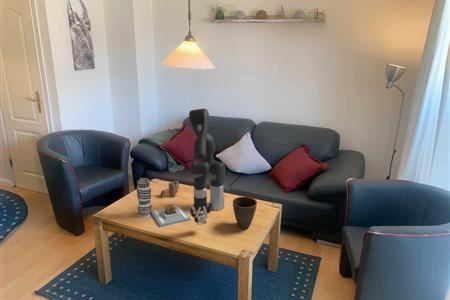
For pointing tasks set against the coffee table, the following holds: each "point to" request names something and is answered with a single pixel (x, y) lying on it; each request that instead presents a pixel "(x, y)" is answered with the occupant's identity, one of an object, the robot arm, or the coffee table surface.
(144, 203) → the grey stacked tower
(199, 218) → the block
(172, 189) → the wooden block set
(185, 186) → the coffee table surface
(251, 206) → the plant pot
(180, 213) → the jig
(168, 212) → the block
